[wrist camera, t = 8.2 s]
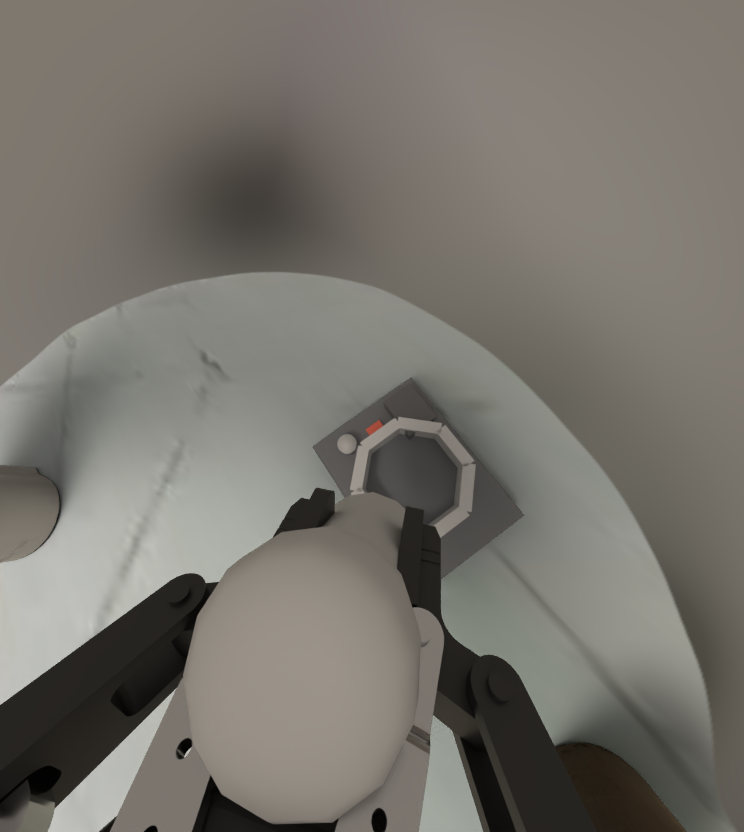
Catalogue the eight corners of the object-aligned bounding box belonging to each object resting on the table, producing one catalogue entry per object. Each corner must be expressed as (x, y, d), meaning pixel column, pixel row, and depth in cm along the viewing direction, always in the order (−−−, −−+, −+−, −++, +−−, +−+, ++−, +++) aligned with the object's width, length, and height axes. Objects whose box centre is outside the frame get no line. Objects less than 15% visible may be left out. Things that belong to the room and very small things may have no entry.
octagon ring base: (320, 451, 31) (304, 442, 26) (410, 387, 32) (411, 366, 27) (410, 590, 27) (412, 613, 21) (511, 512, 28) (537, 517, 22)
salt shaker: (357, 475, 18) (257, 430, 6) (439, 527, 17) (550, 621, 4) (305, 560, 17) (36, 742, 5) (388, 623, 16) (333, 1117, 3)
